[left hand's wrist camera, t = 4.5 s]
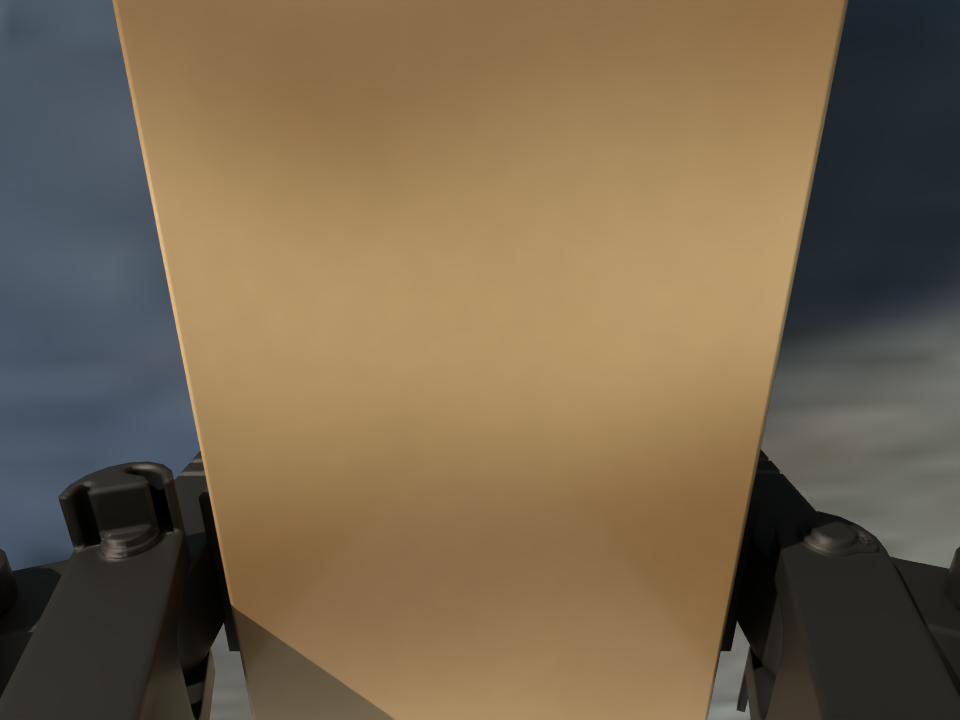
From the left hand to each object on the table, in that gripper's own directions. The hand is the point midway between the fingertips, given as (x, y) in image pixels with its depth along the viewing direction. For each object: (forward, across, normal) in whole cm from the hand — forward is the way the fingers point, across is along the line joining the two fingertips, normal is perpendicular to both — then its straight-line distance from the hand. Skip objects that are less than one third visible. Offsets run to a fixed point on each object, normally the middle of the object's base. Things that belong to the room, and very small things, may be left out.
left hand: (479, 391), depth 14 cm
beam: (0, 0, +14) cm, 15 cm away
